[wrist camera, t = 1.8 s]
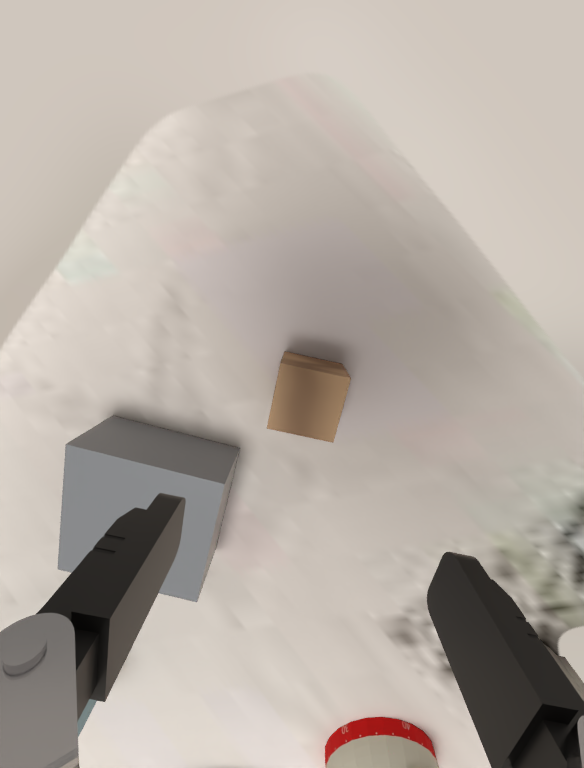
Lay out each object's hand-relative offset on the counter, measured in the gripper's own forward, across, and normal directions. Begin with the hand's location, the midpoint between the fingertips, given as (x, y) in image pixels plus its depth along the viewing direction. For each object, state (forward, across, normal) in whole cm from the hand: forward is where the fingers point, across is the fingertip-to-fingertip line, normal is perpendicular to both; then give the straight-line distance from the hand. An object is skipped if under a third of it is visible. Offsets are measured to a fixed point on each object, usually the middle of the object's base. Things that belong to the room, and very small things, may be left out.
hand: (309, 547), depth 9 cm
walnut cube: (+18, 0, 0) cm, 18 cm away
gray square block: (+18, +11, +13) cm, 25 cm away
